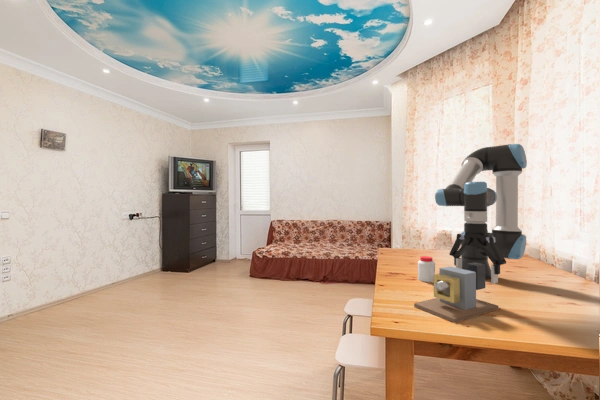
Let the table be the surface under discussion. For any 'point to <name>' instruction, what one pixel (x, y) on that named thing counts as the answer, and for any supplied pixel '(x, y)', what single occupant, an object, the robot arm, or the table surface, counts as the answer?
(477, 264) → the shaft
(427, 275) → the pill bottle
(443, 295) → the frame
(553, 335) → the table surface
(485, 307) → the bearing block
